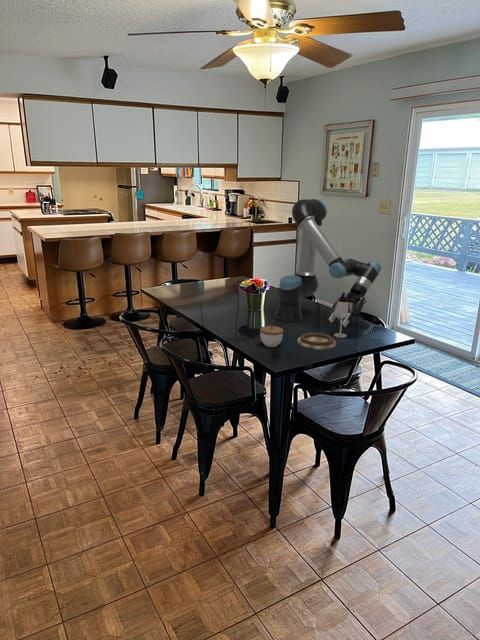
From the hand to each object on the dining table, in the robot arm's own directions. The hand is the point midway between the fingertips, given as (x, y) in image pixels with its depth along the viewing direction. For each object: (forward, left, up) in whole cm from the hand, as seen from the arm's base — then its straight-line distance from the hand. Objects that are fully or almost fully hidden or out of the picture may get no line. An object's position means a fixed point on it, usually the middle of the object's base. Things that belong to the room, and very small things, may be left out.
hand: (336, 323), depth 236 cm
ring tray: (-8, -13, -7) cm, 17 cm away
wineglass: (+2, +3, -7) cm, 8 cm away
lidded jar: (-28, -23, -7) cm, 37 cm away
